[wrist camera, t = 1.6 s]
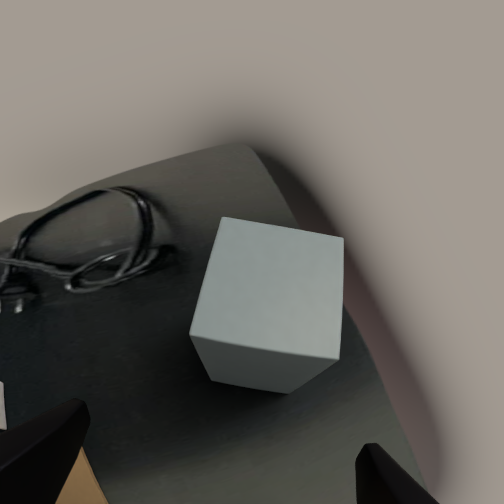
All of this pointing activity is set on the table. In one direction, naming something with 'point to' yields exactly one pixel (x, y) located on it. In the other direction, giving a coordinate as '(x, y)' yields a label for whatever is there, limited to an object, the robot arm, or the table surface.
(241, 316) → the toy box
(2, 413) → the ink cartridge box
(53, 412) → the robot arm
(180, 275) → the table surface
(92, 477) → the cork mat
